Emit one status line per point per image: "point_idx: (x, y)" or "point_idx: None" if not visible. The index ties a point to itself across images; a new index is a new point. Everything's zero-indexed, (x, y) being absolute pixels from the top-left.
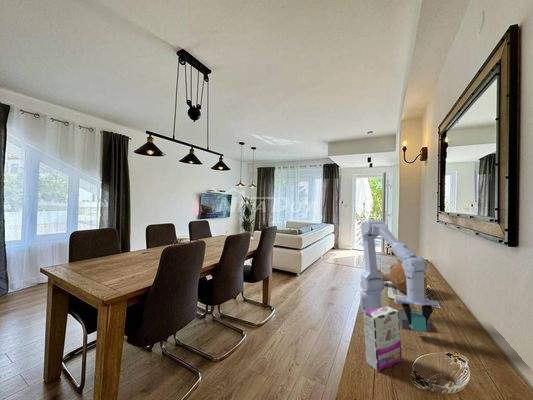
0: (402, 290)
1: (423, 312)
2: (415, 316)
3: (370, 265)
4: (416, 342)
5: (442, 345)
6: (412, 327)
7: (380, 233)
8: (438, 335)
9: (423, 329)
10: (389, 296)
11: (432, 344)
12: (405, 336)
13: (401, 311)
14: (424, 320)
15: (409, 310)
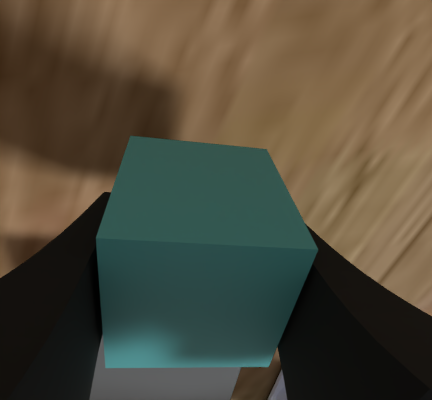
0: None
1: (84, 365)
2: (248, 267)
3: None
4: (239, 72)
5: (18, 49)
6: (271, 163)
7: None
8: (18, 206)
9: (156, 148)
10: None
11: (107, 55)
12: (283, 156)
13: (205, 393)
14: (123, 213)
15: (419, 350)
